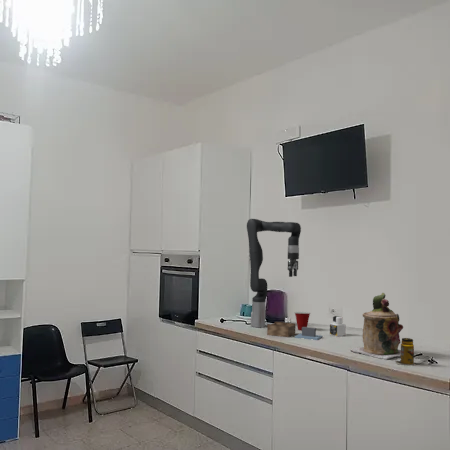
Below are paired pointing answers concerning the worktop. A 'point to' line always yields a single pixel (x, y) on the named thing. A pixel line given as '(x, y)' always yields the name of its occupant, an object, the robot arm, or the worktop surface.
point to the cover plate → (308, 334)
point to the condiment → (407, 352)
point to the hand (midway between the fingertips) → (292, 276)
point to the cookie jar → (380, 331)
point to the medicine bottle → (337, 326)
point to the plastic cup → (302, 319)
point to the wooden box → (281, 329)
